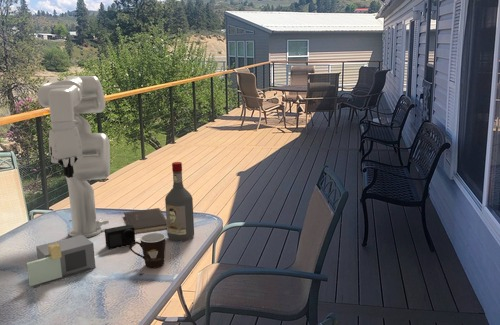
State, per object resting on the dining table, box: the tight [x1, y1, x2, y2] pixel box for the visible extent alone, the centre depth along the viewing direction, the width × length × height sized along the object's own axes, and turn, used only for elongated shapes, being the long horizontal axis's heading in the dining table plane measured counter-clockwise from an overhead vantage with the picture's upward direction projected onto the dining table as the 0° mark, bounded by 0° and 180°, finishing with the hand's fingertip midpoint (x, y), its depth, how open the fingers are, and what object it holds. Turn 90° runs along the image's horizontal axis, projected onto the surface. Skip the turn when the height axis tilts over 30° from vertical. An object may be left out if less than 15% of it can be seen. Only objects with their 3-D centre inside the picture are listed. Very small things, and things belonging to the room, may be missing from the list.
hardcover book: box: [123, 207, 167, 234], centre depth 226 cm, size 16×23×2 cm
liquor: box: [164, 161, 195, 243], centre depth 205 cm, size 9×9×30 cm
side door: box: [26, 243, 62, 287], centre depth 169 cm, size 10×3×12 cm, turn 128°
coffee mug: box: [129, 232, 167, 269], centre depth 183 cm, size 12×9×10 cm
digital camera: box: [104, 224, 136, 250], centre depth 200 cm, size 10×5×7 cm, turn 118°
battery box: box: [32, 235, 96, 288], centre depth 178 cm, size 21×12×9 cm, turn 128°
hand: (69, 176), depth 185 cm, fingers closed
